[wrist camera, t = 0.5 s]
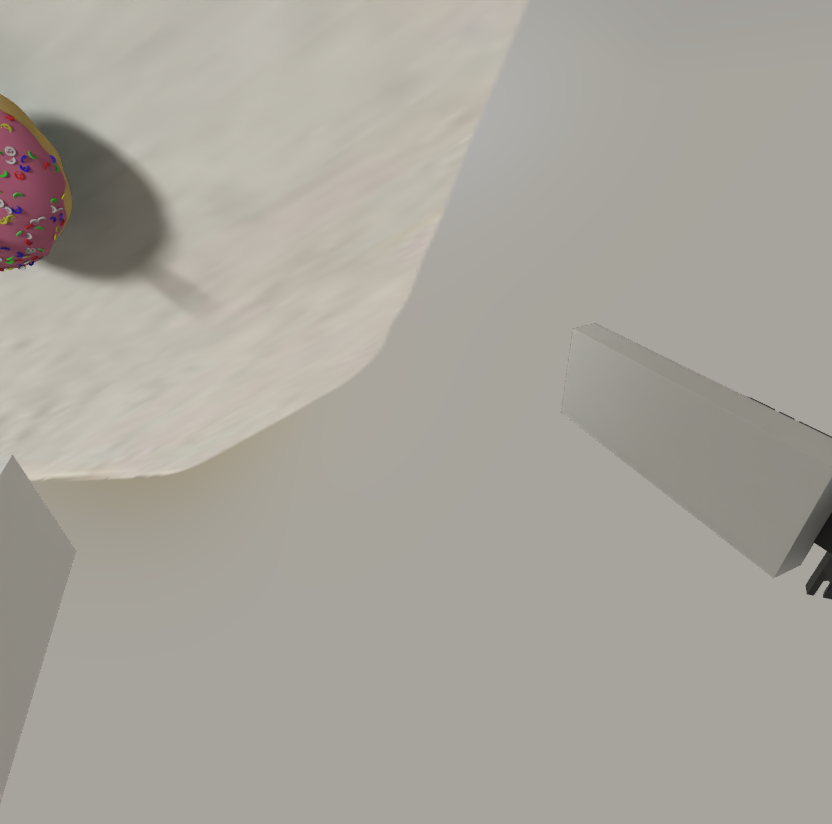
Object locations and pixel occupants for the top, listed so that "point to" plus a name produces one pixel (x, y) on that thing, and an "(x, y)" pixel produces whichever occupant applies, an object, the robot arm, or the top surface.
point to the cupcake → (29, 190)
